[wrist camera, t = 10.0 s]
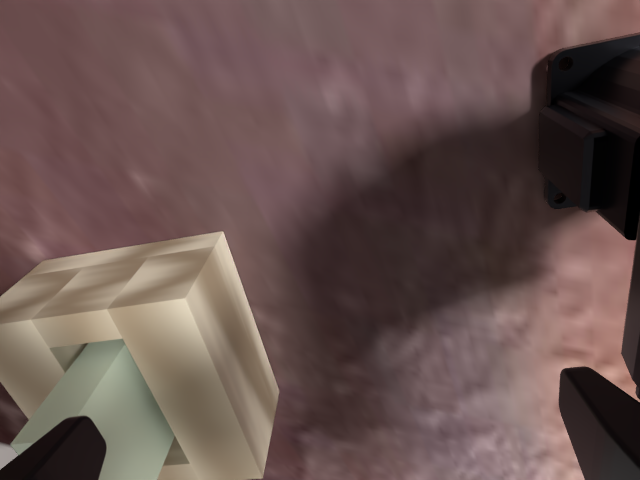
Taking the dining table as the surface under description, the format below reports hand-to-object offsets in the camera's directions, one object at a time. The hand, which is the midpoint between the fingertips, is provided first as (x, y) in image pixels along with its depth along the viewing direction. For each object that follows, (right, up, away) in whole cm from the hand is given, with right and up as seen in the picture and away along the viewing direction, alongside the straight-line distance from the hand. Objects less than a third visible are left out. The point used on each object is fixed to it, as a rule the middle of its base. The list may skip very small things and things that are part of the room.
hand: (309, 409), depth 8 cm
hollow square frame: (-8, -2, +17) cm, 19 cm away
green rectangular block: (-8, -2, +15) cm, 17 cm away
